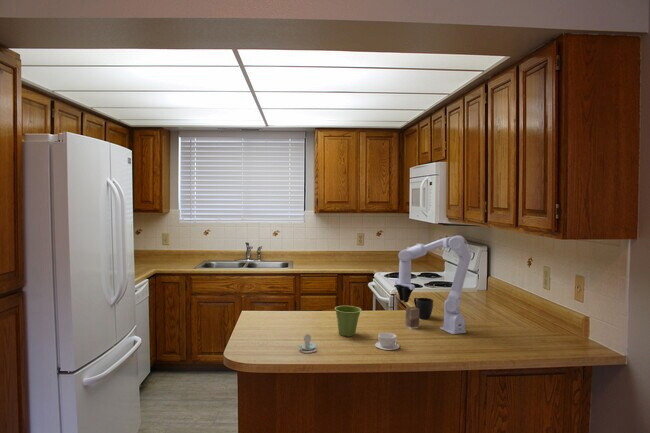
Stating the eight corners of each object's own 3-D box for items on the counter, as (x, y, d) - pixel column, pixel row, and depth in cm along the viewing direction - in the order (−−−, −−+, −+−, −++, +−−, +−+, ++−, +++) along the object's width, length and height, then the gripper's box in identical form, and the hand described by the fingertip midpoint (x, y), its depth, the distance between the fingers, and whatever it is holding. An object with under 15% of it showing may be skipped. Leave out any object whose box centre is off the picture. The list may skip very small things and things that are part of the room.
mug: (420, 313, 222) (421, 295, 221) (435, 319, 211) (436, 300, 210) (408, 314, 218) (409, 296, 218) (422, 320, 207) (423, 302, 207)
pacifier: (319, 352, 161) (313, 347, 166) (320, 336, 160) (313, 331, 166) (302, 355, 158) (296, 349, 163) (303, 339, 157) (296, 334, 163)
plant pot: (352, 340, 175) (353, 313, 175) (328, 334, 182) (329, 309, 181) (365, 333, 186) (366, 308, 185) (342, 328, 192) (342, 304, 191)
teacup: (369, 346, 169) (370, 334, 169) (384, 340, 176) (384, 329, 176) (389, 353, 162) (390, 341, 162) (404, 347, 169) (404, 335, 169)
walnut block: (418, 327, 195) (419, 309, 195) (410, 328, 194) (411, 309, 193) (413, 325, 200) (413, 306, 199) (405, 326, 198) (405, 307, 197)
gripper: (389, 271, 208) (389, 298, 208) (406, 276, 194) (405, 305, 195) (401, 271, 210) (401, 297, 211) (418, 276, 197) (417, 304, 198)
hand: (403, 301), depth 203 cm, fingers open, 3 cm apart
